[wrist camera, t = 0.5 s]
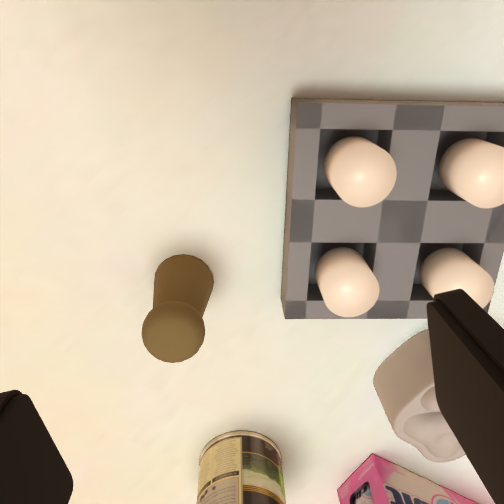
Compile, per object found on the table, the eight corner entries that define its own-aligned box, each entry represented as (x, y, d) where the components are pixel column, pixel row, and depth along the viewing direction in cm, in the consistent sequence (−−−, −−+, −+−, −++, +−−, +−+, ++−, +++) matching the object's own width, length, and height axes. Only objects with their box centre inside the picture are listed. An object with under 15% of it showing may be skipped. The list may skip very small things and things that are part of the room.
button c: (316, 246, 42) (325, 267, 38) (368, 247, 42) (382, 267, 38) (312, 293, 44) (321, 317, 40) (362, 293, 44) (375, 317, 40)
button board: (291, 98, 40) (297, 102, 36) (513, 102, 41) (540, 107, 37) (280, 298, 48) (284, 318, 44) (467, 298, 49) (486, 318, 45)
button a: (326, 135, 38) (337, 145, 34) (383, 136, 38) (401, 146, 34) (321, 191, 40) (331, 207, 36) (375, 192, 40) (391, 207, 36)
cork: (176, 243, 45) (160, 297, 35) (225, 276, 47) (224, 337, 37) (142, 286, 47) (118, 350, 37) (191, 317, 48) (180, 386, 38)
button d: (423, 247, 42) (444, 267, 38) (474, 247, 43) (499, 267, 39) (415, 293, 44) (433, 317, 40) (464, 293, 44) (487, 316, 40)
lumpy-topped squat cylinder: (361, 378, 53) (384, 436, 45) (450, 303, 49) (492, 351, 41) (418, 423, 56) (450, 484, 48) (506, 355, 52) (555, 409, 44)
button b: (444, 137, 38) (469, 147, 34) (499, 138, 39) (531, 147, 35) (433, 192, 40) (456, 208, 36) (487, 193, 41) (515, 208, 37)
